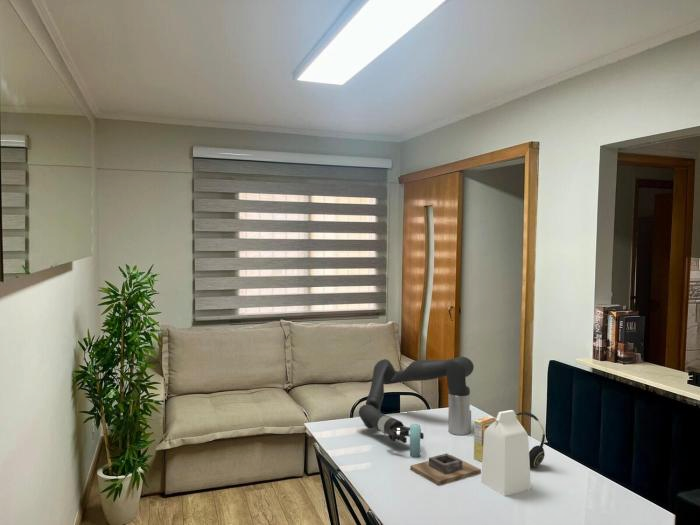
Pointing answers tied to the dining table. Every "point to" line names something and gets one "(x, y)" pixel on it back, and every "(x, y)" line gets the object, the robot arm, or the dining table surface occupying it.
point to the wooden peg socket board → (445, 469)
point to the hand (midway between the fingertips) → (414, 438)
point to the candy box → (480, 435)
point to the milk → (506, 455)
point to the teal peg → (414, 440)
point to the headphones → (536, 452)
